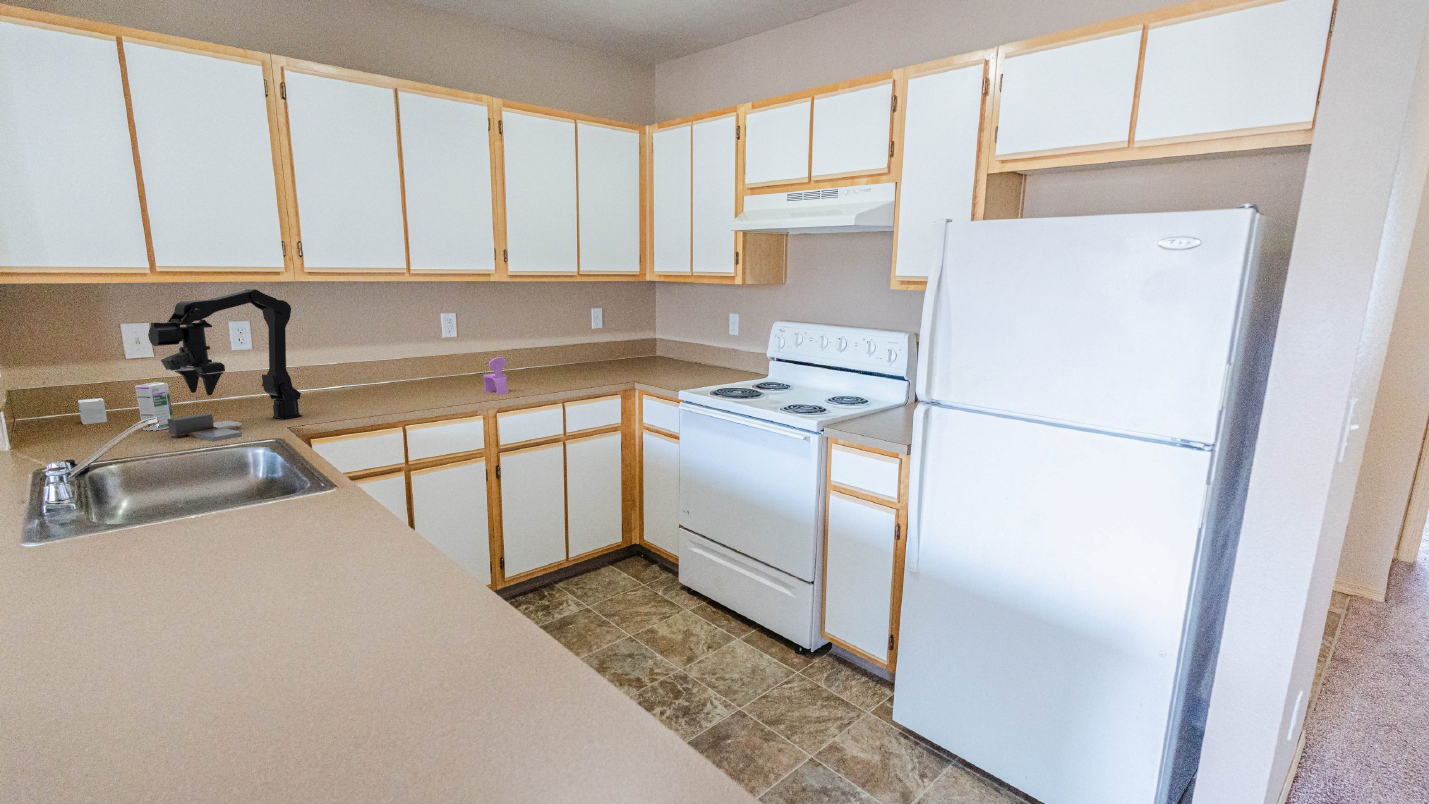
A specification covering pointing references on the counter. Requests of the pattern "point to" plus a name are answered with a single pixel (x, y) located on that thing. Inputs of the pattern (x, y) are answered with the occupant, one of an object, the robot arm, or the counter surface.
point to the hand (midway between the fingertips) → (201, 394)
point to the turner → (196, 424)
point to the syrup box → (154, 403)
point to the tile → (218, 435)
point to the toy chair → (496, 377)
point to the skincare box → (92, 411)
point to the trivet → (209, 430)
